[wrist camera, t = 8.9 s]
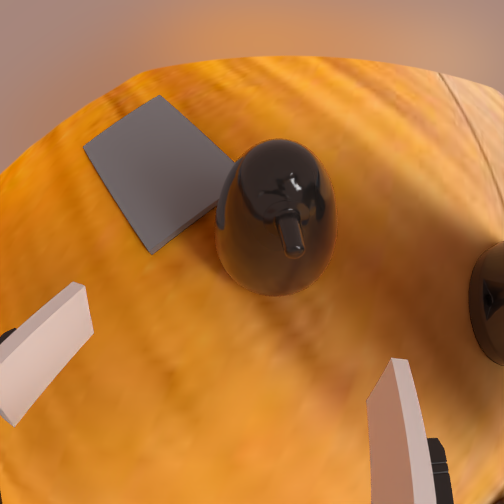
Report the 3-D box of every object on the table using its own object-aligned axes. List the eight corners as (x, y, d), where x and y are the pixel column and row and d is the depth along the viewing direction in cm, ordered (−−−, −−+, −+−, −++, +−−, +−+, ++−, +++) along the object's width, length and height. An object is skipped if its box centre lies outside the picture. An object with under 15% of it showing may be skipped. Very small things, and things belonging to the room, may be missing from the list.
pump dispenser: (226, 312, 28) (188, 259, 14) (218, 213, 32) (188, 105, 18) (333, 299, 28) (396, 237, 14) (315, 203, 32) (344, 94, 18)
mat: (161, 99, 39) (159, 94, 38) (249, 181, 33) (249, 176, 32) (85, 151, 36) (82, 146, 35) (151, 254, 31) (148, 251, 30)
